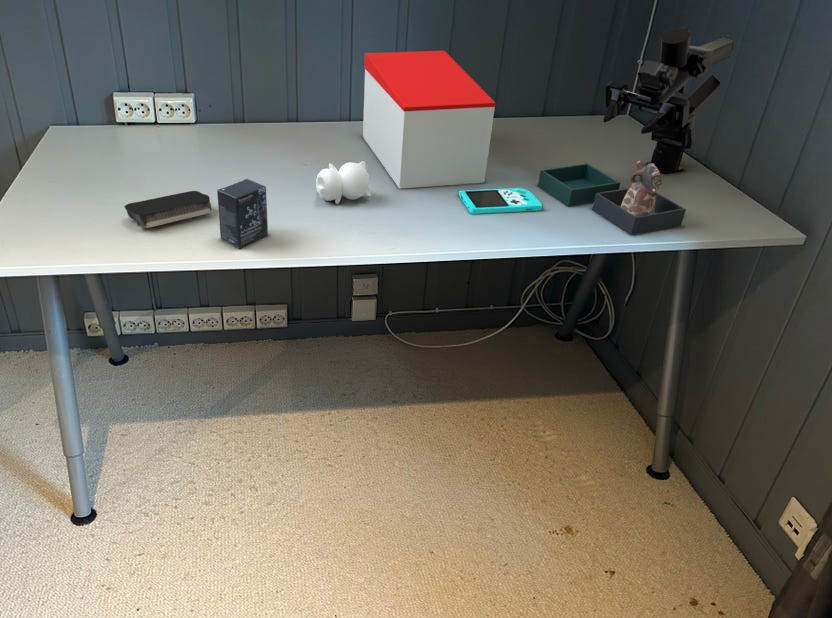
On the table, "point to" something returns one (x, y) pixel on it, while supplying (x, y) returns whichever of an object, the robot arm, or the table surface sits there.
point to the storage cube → (426, 119)
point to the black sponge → (169, 208)
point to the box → (242, 213)
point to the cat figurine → (343, 182)
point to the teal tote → (576, 183)
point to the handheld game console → (499, 200)
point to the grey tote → (663, 218)
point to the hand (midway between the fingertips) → (622, 126)
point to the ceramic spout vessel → (642, 191)
